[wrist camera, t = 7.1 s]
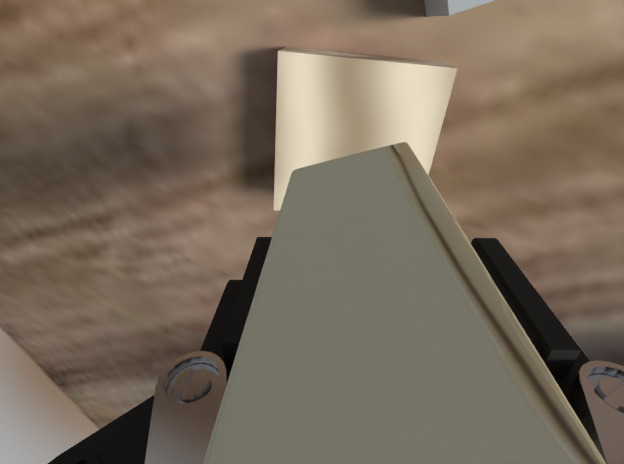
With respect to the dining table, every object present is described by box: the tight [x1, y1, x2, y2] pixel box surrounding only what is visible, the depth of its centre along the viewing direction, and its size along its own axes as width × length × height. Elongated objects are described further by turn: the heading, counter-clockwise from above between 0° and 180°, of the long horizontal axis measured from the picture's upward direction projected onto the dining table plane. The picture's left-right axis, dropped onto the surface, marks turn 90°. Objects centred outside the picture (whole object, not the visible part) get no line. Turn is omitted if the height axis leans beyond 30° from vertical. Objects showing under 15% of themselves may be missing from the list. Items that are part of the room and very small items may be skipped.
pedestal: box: [274, 47, 458, 211], centre depth 24 cm, size 10×10×4 cm
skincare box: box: [203, 142, 606, 464], centre depth 8 cm, size 6×4×12 cm
